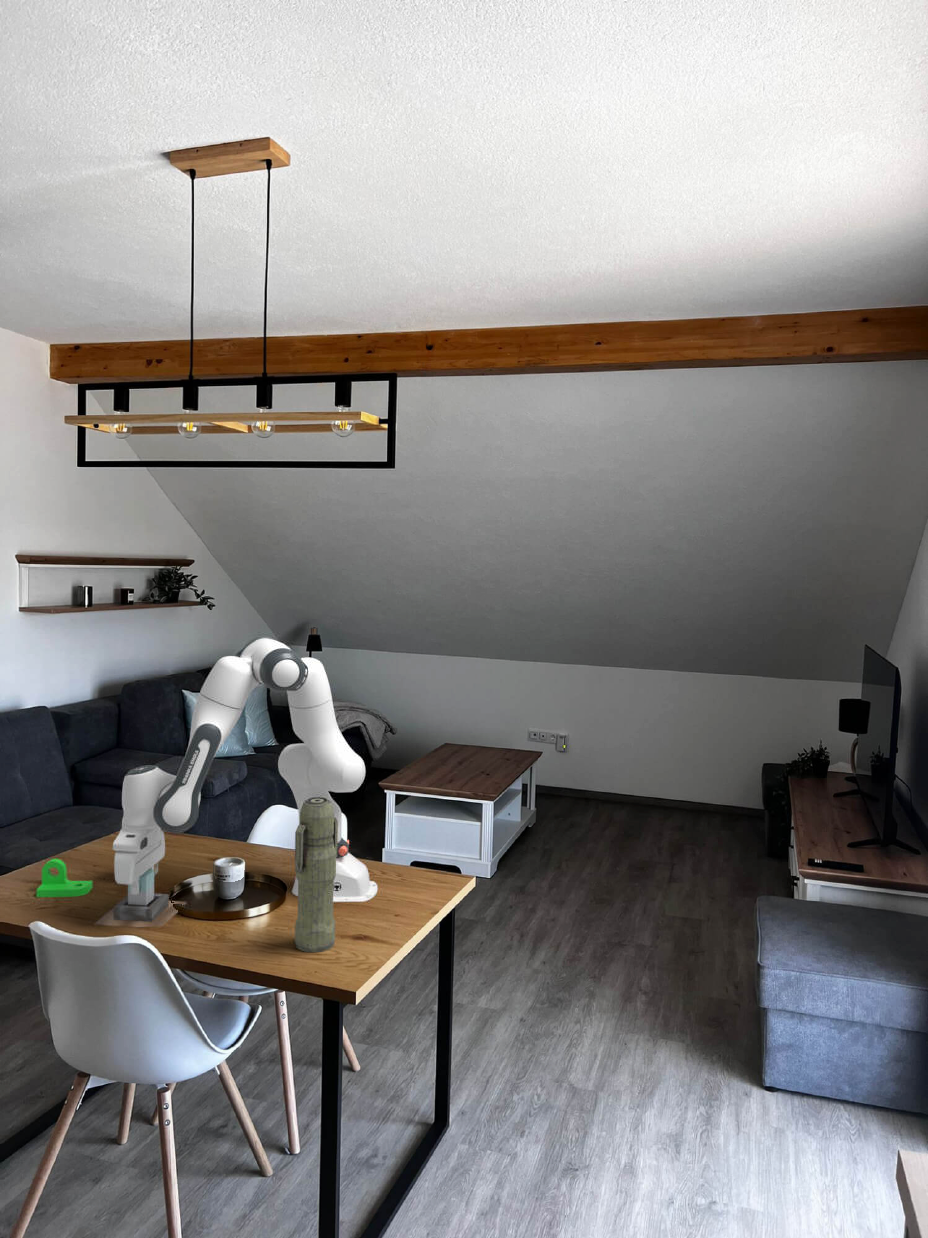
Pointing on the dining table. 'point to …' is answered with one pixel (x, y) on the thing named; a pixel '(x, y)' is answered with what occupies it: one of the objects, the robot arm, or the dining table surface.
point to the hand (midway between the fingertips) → (141, 889)
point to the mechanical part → (60, 882)
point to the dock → (141, 913)
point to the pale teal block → (143, 890)
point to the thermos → (315, 875)
